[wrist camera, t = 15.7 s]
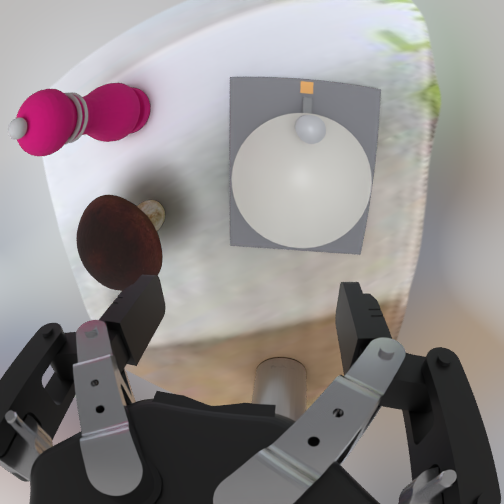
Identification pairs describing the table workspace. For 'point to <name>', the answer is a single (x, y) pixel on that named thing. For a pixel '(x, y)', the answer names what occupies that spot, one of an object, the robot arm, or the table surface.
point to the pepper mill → (78, 117)
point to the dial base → (291, 101)
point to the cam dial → (301, 179)
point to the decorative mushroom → (120, 240)
